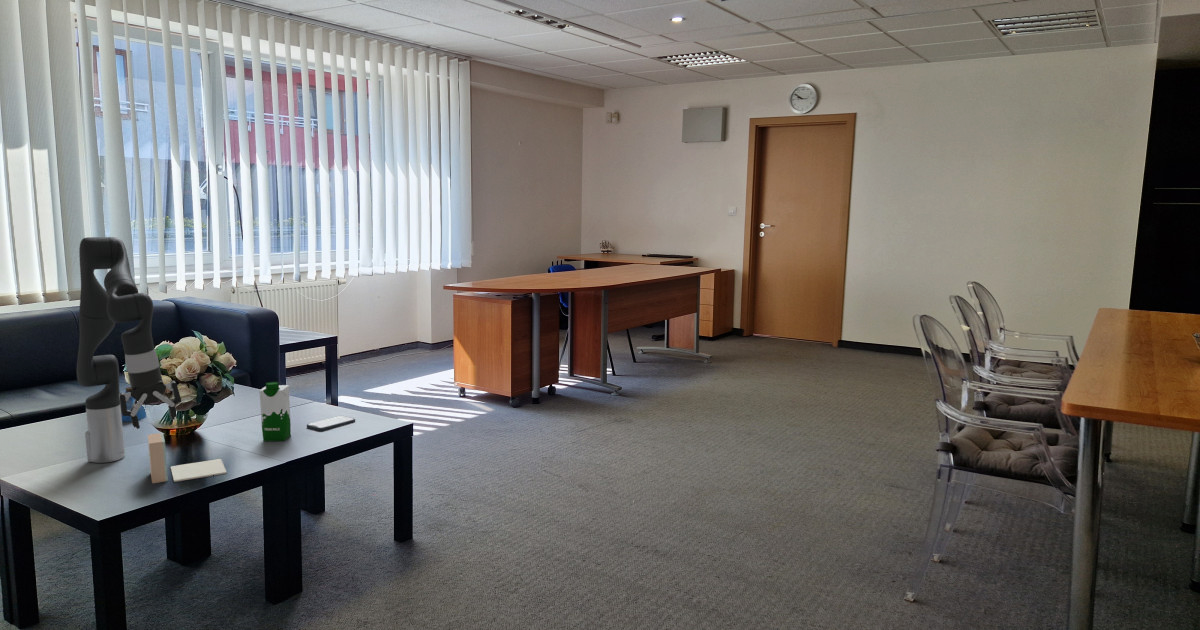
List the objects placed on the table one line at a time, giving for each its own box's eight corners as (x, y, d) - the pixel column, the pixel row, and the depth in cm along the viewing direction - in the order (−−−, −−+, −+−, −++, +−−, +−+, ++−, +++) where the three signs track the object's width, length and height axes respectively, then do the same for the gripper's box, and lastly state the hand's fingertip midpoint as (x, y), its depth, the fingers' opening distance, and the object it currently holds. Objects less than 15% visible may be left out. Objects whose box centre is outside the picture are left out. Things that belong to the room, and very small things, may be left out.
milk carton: (259, 442, 266) (256, 385, 263) (268, 434, 275) (265, 378, 272) (286, 441, 266) (283, 384, 263) (294, 434, 275) (291, 378, 272)
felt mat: (174, 481, 228) (173, 480, 228) (170, 468, 240) (170, 466, 240) (226, 473, 236) (226, 471, 235) (220, 460, 247) (220, 458, 247)
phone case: (341, 419, 296) (305, 428, 283) (341, 415, 296) (304, 424, 283) (357, 423, 291) (320, 432, 278) (356, 418, 291) (320, 428, 278)
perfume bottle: (146, 417, 295) (143, 386, 293) (134, 421, 289) (131, 390, 287) (131, 416, 296) (128, 385, 294) (119, 421, 290) (116, 389, 288)
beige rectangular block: (152, 483, 227) (149, 443, 225) (150, 473, 235) (147, 434, 234) (167, 480, 229) (164, 441, 227) (165, 470, 237) (162, 432, 236)
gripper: (170, 358, 217) (181, 412, 221) (110, 370, 209) (123, 427, 213) (175, 363, 211) (186, 419, 215) (114, 376, 203) (127, 434, 207)
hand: (155, 423), depth 214 cm, fingers open, 8 cm apart
